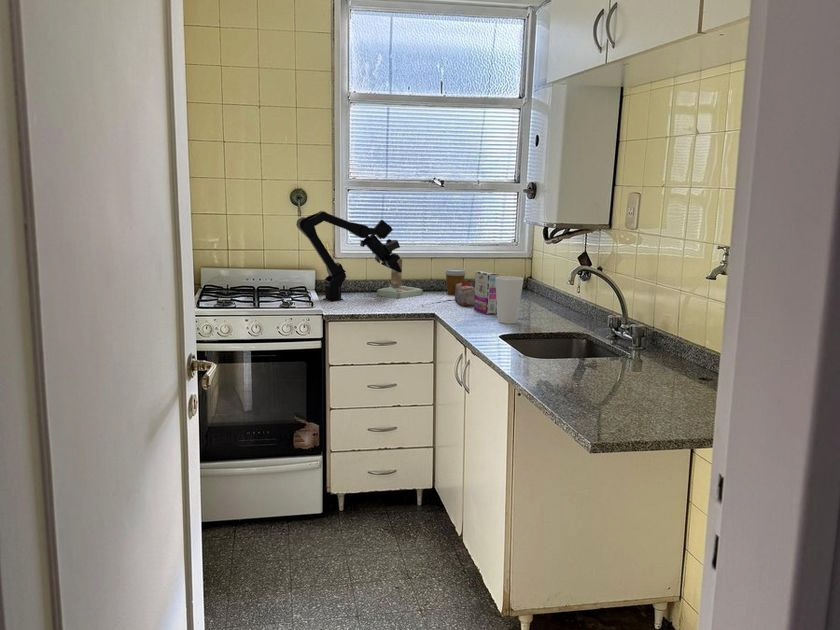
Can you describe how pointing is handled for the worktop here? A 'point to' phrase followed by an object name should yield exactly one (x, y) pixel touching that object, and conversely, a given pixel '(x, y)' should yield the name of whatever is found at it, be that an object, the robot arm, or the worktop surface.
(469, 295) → the food item
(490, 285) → the candy bar box
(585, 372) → the worktop surface
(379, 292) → the tray
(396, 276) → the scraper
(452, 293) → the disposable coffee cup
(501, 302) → the cup
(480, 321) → the worktop surface
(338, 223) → the robot arm
